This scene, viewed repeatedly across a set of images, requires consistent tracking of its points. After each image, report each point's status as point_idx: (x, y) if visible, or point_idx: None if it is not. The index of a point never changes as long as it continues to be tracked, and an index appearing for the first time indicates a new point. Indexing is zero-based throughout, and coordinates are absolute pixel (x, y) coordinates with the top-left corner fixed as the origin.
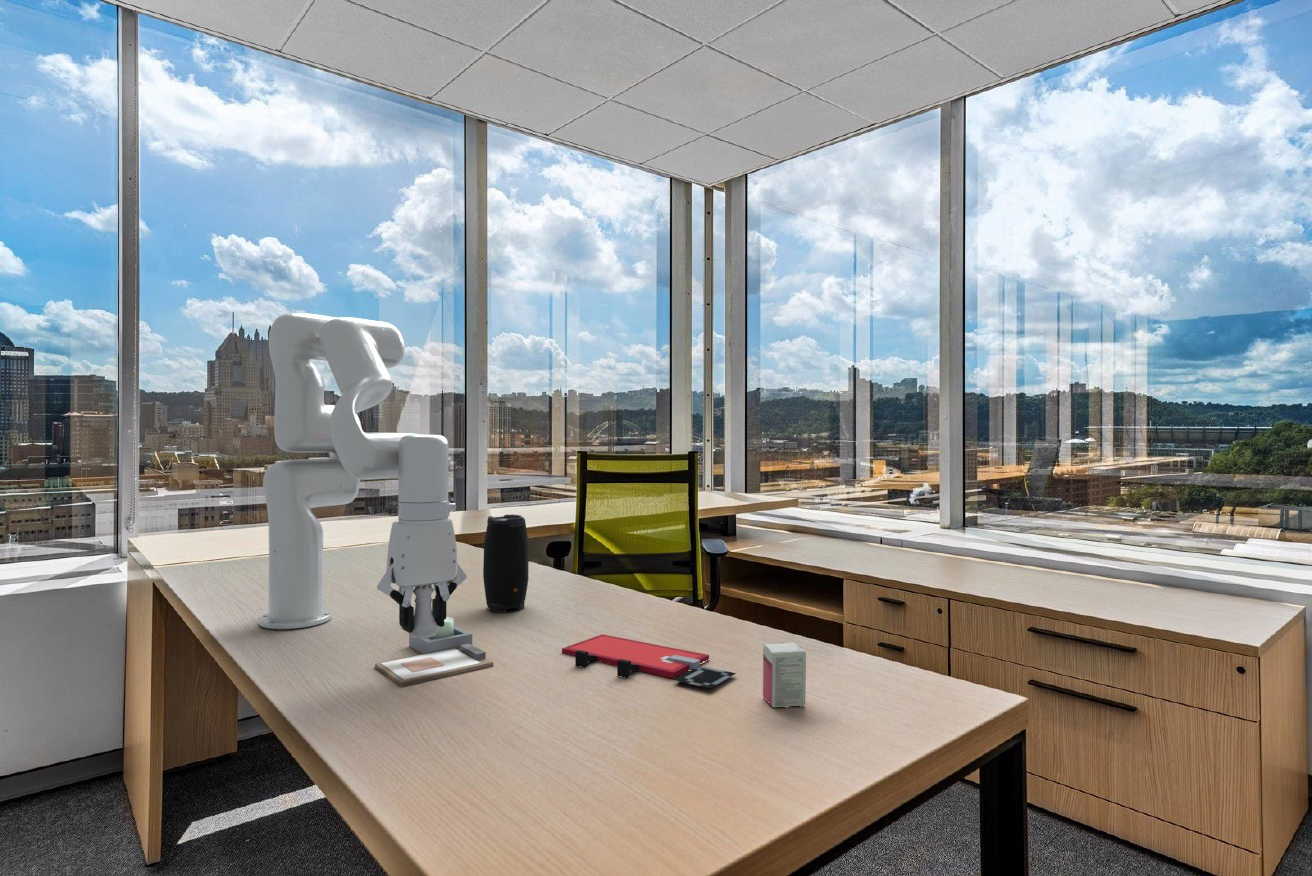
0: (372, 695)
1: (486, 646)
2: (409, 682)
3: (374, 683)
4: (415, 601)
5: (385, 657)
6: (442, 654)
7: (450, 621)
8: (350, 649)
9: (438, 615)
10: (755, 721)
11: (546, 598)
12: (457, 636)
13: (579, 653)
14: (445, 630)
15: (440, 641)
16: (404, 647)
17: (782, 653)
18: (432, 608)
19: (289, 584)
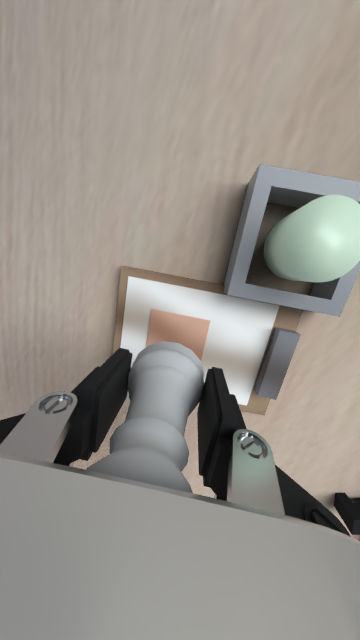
0: (68, 376)
1: (345, 319)
2: None
3: (89, 337)
4: (110, 447)
5: (168, 221)
6: (236, 321)
7: (332, 276)
8: (143, 85)
9: (200, 426)
10: None
11: None
12: (303, 306)
13: (351, 523)
14: (297, 280)
15: (257, 299)
16: (236, 182)
17: None
18: (211, 396)
19: None
